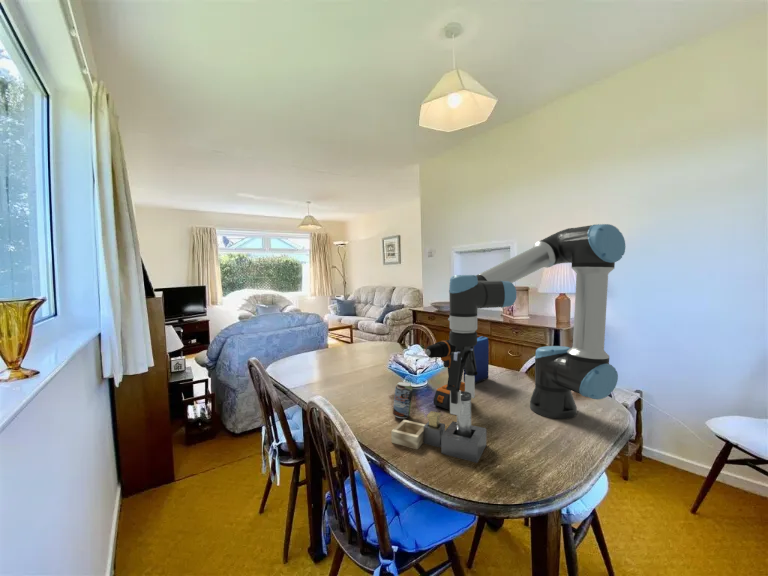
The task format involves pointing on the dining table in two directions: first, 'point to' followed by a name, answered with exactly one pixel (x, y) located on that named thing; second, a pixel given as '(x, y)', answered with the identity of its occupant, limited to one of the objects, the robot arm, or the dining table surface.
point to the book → (481, 359)
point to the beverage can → (402, 400)
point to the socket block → (456, 441)
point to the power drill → (444, 352)
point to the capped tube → (464, 416)
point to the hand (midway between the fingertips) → (462, 405)
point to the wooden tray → (408, 434)
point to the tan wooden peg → (434, 419)
